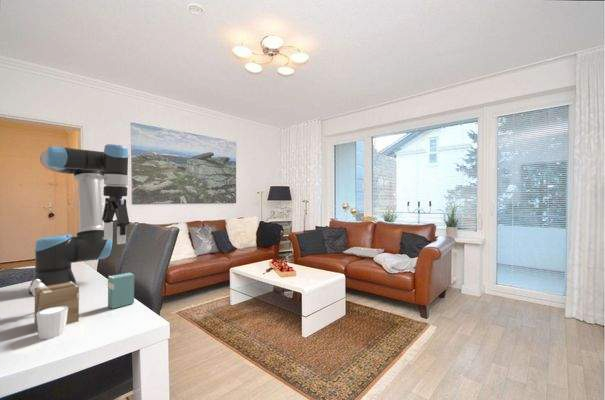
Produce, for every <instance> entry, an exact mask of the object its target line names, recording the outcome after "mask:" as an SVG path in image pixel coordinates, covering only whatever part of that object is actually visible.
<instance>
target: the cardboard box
mask: <svg viewBox="0 0 605 400" xmlns="http://www.w3.org/2000/svg"><path fill="white" fill-rule="evenodd" d="M79 301H80V286H79V285H77V283H76V284H74V283H73V282H72V281H70V282H66V283H61V284H55V285H49V286H42V287H38V288H35V297H34V312H35V313H34V315H35V316H34V325H35V326H36V328H37V329H38V325H37V317H36V314H37V312H39V311H41V310H44V309H47V308H51V307H57V306H67V307H68V313H67V321H66V325H69V324H72V323H73V324H74V323H76V322H79V318H80V317H79V315H80V314H79V313H80V311H79V309H80V308H79V307H80V304H79V303H80V302H79Z"/></svg>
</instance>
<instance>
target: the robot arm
mask: <svg viewBox="0 0 605 400" xmlns="http://www.w3.org/2000/svg"><path fill="white" fill-rule="evenodd" d="M103 148H104V149H103V151H97V150H89V149H79V148H73V147H72V148H71V147H63V146H52V145H51V146H48V147H47V150H45V151H44V152H42V153H41V155H40V163H41V165H42V166H43V167H44V168H46V169H47V170H49V171H52V172H57V173H61V174H68V175H73V178H74V179H75V180H76V181H77V182H78V198H79V199H78V201H79V220H80V221H79V222H80V225H79V226H80V229H79V230H78V231H77V232H76V236H73V235H72V234H71V233H61V234H60V233H59V234H56V235H55V234H54V235H49V236H44V237H41V238H39V239H37V240H36V242H35V248H34V252H35V253H34V254H35V255H34V256H35V257H34V260H35V262H34V275H33V278H32V280H31V282H30V283H29V284H30V285H29V286H28V294H29V295H32V296H34V295H33V294H32V292H31V291H30V286H31V285H32V283H33V281H34V280H35V279H40V280H41V282H42V283H44V284H45V286H49V285H55V284H61V283H66V282H70V281H72V282H73V283H74V284H76V285H77V280H76V279H77V278H75V275H74V272H73V270H72V263H80V262H89V261H90V262H91V261H98V260H101V259H102V260H103V259H107V258H108V257H109V256H110V255H111V251H112V248H113V247H112V246H113V238H114V237H113V236H114V235H113V234H114V233H113V232H114V217H116V220H117V224H116V228H117V229H116V244H117V245H125V244H127V226H129V225H130V219H129V212H128V206H127V199H126V198H123V197H128V187H127V186H129V185H128V184H129V183H128V182H129V181H128V180H129V179H128V178H129V175H128V171H129V157H130V156H129V149H128V146H125V145H122V144H121V145H120V144H113V143H111V144H108V143H107V144H105V145H104V147H103ZM101 181H103V185H104V187H103V191H102V188H101ZM102 192H103V193H102ZM102 194H103V196H104V197H105V201H104V203H105V204H104V208H103V204H102V202H103V201H102Z"/></svg>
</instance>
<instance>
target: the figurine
mask: <svg viewBox="0 0 605 400" xmlns="http://www.w3.org/2000/svg"><path fill="white" fill-rule="evenodd" d="M42 286H45V284H44V283H42V282H41V280H40V279H35V280H34V281H33V283H32V285H31V286H30V285H29V287H30V291H31V292H32V294H33V295H32V294H31V295H32V296H33V297H34V298H35V288H38V287H42ZM33 312H34V313H33V314H34V315H33V316H34V317H35V311H33Z"/></svg>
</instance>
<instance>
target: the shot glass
mask: <svg viewBox="0 0 605 400" xmlns="http://www.w3.org/2000/svg"><path fill="white" fill-rule="evenodd" d="M67 313H68V307H67V306H57V307H51V308H47V309H44V310H41V311H39V312H37V314H36V317H37V325H38V328H37V333H38V339H40V340H50V339H54V338H56V337H60V336H62V335H64V334H65V333H66V328H67V324H66V321H67Z"/></svg>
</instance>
